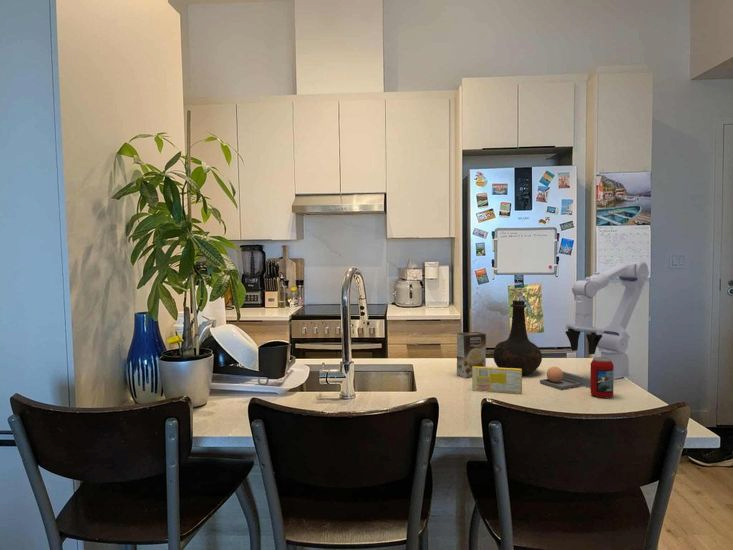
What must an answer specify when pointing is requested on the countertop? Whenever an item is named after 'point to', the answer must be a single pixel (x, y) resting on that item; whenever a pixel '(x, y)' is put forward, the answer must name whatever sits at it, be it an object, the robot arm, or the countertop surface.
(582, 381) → the low fence
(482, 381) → the candy box
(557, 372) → the ball
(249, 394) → the countertop surface
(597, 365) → the beverage can
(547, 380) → the charcoal dish
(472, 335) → the coffee box
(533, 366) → the glass bottle
